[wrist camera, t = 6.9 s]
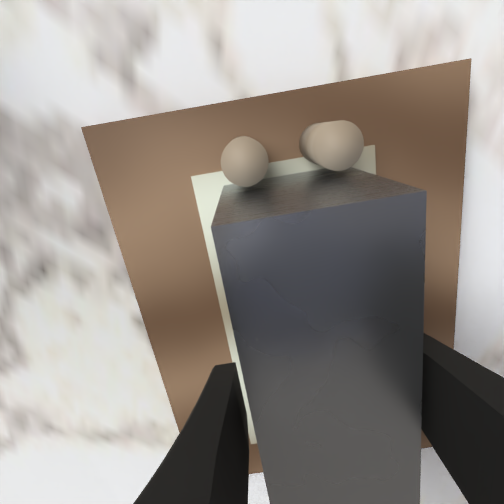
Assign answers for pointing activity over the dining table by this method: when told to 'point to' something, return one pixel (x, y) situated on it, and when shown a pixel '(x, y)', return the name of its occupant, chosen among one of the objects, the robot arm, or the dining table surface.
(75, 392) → the dining table surface
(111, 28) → the dining table surface
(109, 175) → the pin tray
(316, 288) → the block
